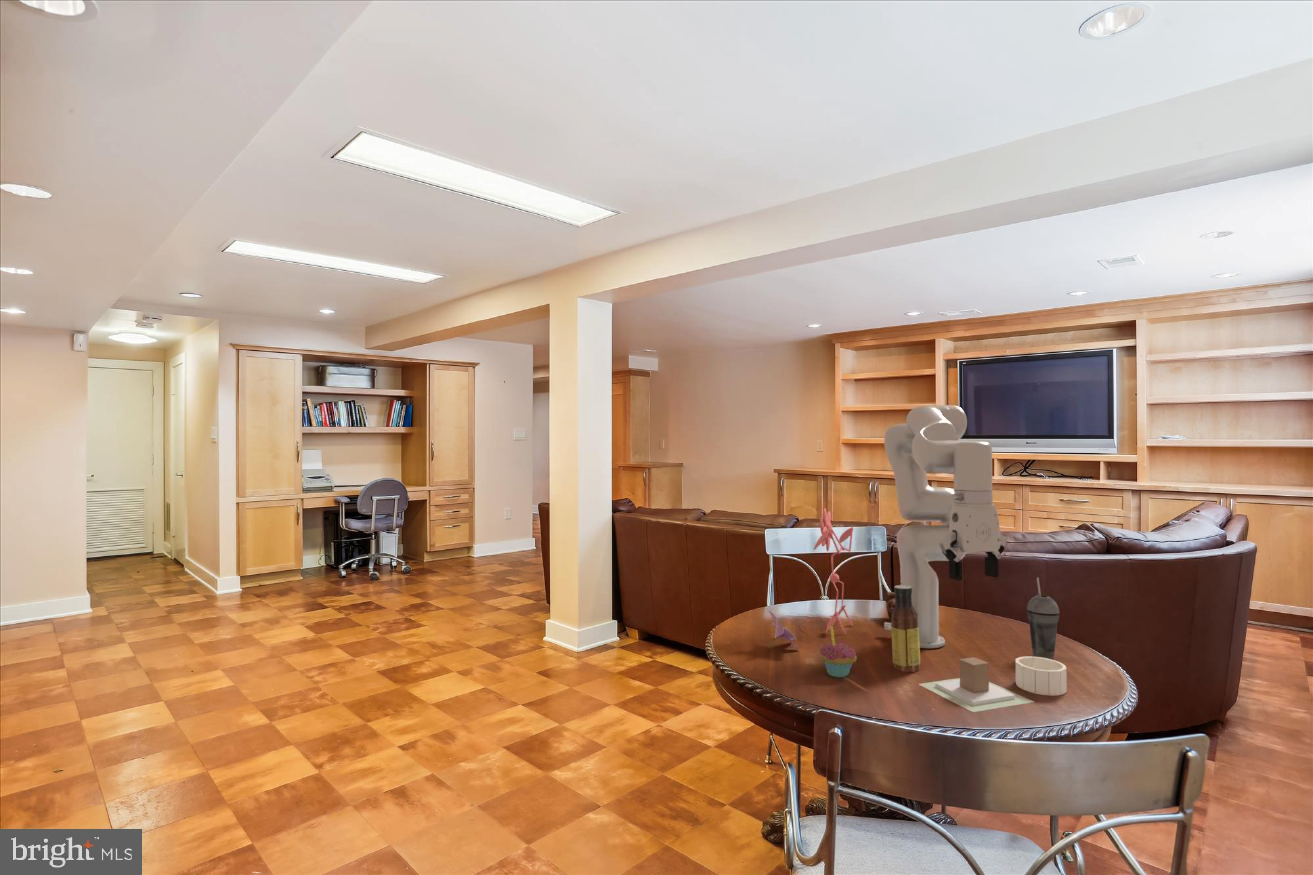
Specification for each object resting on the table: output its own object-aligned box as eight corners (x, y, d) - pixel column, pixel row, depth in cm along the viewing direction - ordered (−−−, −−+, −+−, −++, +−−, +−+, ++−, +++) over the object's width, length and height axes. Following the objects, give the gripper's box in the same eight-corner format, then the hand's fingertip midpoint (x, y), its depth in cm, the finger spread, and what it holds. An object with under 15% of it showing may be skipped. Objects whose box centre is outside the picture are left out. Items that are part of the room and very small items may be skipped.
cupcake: (836, 682, 150) (836, 629, 150) (811, 671, 157) (811, 620, 157) (864, 676, 154) (864, 624, 154) (838, 665, 161) (838, 616, 161)
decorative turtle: (895, 613, 208) (897, 588, 207) (935, 629, 194) (937, 602, 194) (872, 615, 203) (874, 590, 203) (911, 632, 190) (914, 604, 189)
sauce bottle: (919, 666, 160) (919, 584, 160) (921, 675, 154) (920, 590, 154) (891, 663, 162) (890, 582, 162) (891, 672, 156) (890, 588, 156)
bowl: (1016, 692, 143) (1016, 667, 143) (1015, 677, 152) (1014, 654, 152) (1068, 700, 139) (1068, 674, 139) (1063, 684, 147) (1063, 660, 147)
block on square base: (973, 705, 135) (973, 672, 135) (935, 686, 146) (935, 655, 146) (1015, 698, 139) (1015, 666, 139) (974, 680, 149) (974, 650, 149)
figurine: (861, 619, 201) (857, 504, 201) (842, 642, 178) (838, 513, 179) (811, 614, 208) (808, 503, 209) (787, 636, 186) (783, 512, 186)
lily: (794, 663, 166) (809, 627, 168) (751, 641, 169) (766, 606, 171) (792, 662, 177) (806, 629, 179) (752, 642, 180) (766, 609, 182)
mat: (973, 714, 132) (973, 712, 132) (918, 685, 147) (918, 684, 147) (1034, 703, 137) (1034, 701, 137) (975, 677, 152) (975, 675, 152)
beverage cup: (1065, 663, 161) (1064, 581, 161) (1032, 661, 163) (1032, 580, 163) (1053, 653, 169) (1053, 575, 169) (1022, 651, 170) (1021, 574, 170)
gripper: (953, 501, 136) (954, 584, 136) (1018, 498, 141) (1019, 578, 141) (927, 498, 143) (928, 577, 143) (990, 496, 148) (991, 572, 148)
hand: (973, 577), depth 142 cm, fingers open, 9 cm apart
